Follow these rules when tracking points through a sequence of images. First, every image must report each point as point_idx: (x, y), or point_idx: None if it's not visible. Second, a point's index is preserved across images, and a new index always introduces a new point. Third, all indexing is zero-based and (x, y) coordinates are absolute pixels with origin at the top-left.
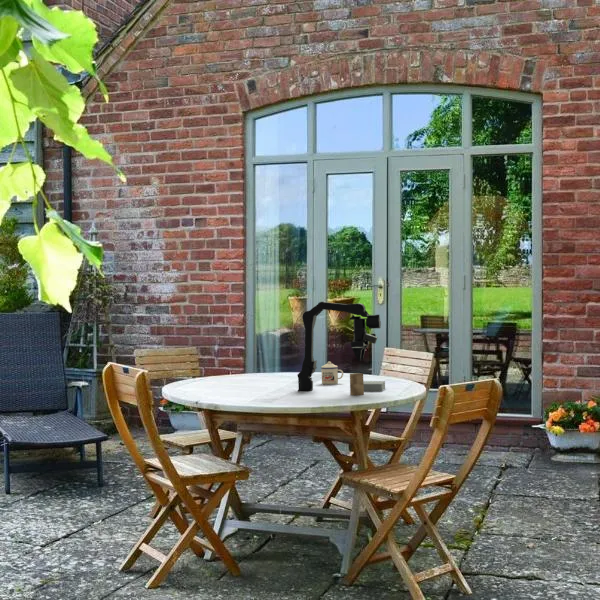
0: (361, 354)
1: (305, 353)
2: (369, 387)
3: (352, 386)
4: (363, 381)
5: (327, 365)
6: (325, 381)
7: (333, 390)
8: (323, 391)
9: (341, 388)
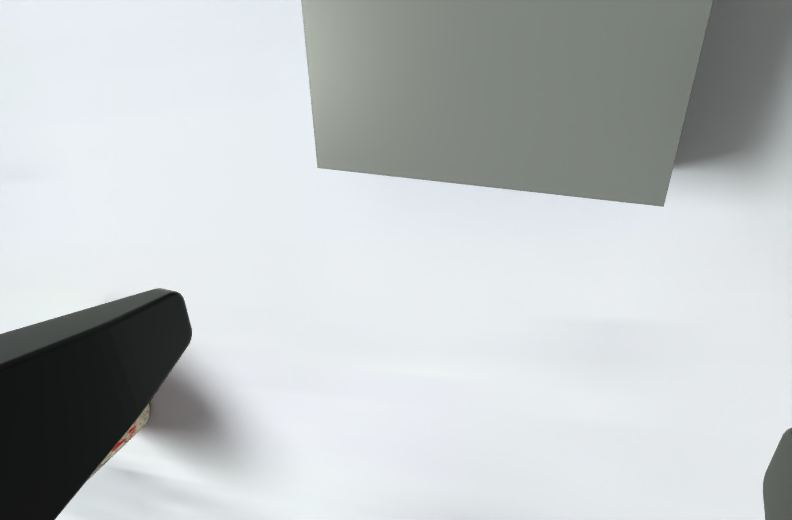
0: (54, 426)
1: None
2: None
3: None
4: (335, 134)
5: None
6: (136, 426)
7: (519, 403)
8: (589, 483)
9: (367, 330)
